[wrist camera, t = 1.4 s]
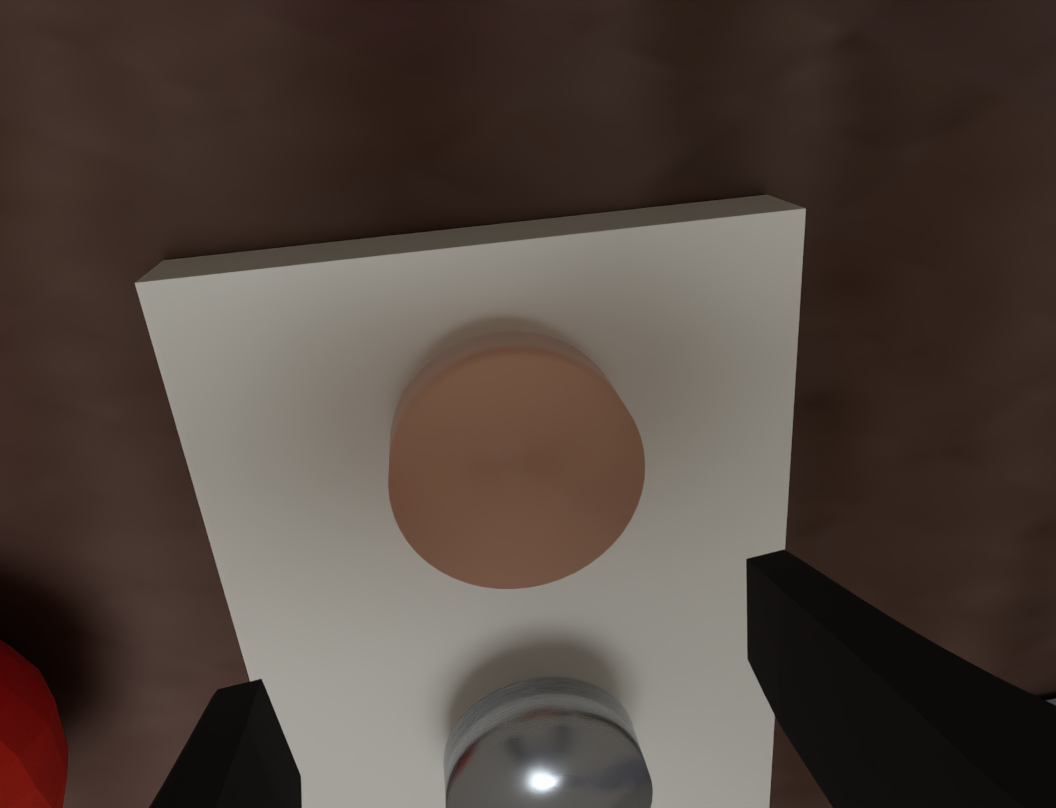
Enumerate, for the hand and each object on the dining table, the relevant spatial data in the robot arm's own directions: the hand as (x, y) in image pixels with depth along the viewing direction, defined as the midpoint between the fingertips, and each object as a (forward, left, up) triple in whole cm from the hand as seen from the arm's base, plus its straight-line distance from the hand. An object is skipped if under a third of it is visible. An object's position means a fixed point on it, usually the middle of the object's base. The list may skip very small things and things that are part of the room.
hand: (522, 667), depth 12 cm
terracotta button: (-1, -1, -6) cm, 6 cm away
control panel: (-1, +8, -9) cm, 12 cm away
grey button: (-1, +8, -6) cm, 10 cm away
